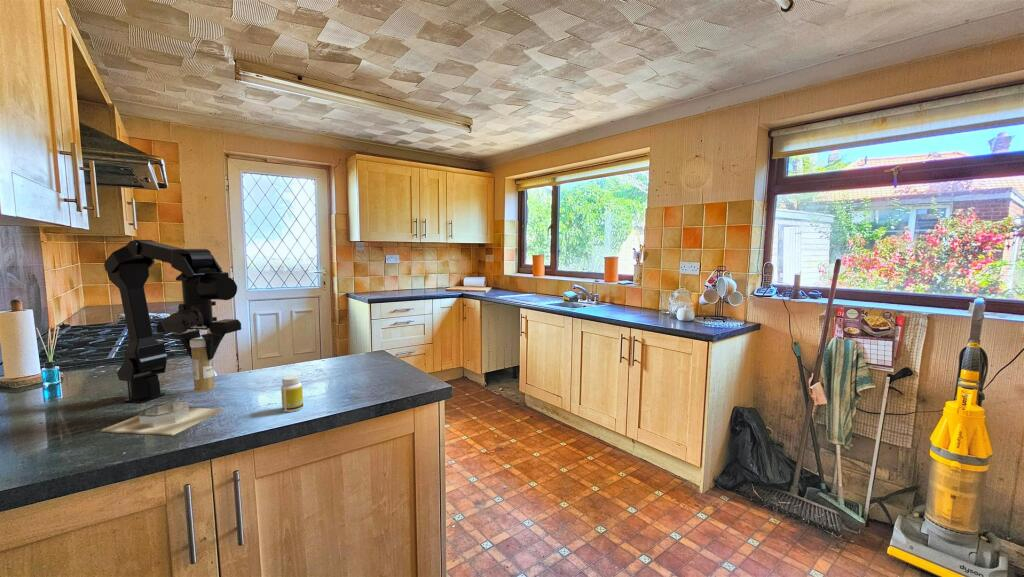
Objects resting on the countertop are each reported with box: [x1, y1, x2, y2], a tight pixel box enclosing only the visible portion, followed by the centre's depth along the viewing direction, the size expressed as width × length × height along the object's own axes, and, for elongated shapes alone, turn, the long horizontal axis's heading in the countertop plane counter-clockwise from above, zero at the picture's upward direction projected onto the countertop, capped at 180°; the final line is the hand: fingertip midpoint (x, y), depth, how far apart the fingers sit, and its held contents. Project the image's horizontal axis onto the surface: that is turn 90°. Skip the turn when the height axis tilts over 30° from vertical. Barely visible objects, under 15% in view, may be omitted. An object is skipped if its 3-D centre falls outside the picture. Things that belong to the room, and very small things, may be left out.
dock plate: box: [100, 407, 224, 436], centre depth 101 cm, size 18×14×1 cm
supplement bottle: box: [280, 374, 304, 413], centre depth 107 cm, size 5×5×8 cm
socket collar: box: [138, 401, 190, 427], centre depth 101 cm, size 9×9×2 cm
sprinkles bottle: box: [190, 336, 216, 393], centre depth 108 cm, size 5×5×13 cm
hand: (202, 359), depth 108 cm, fingers closed on sprinkles bottle, 4 cm apart
